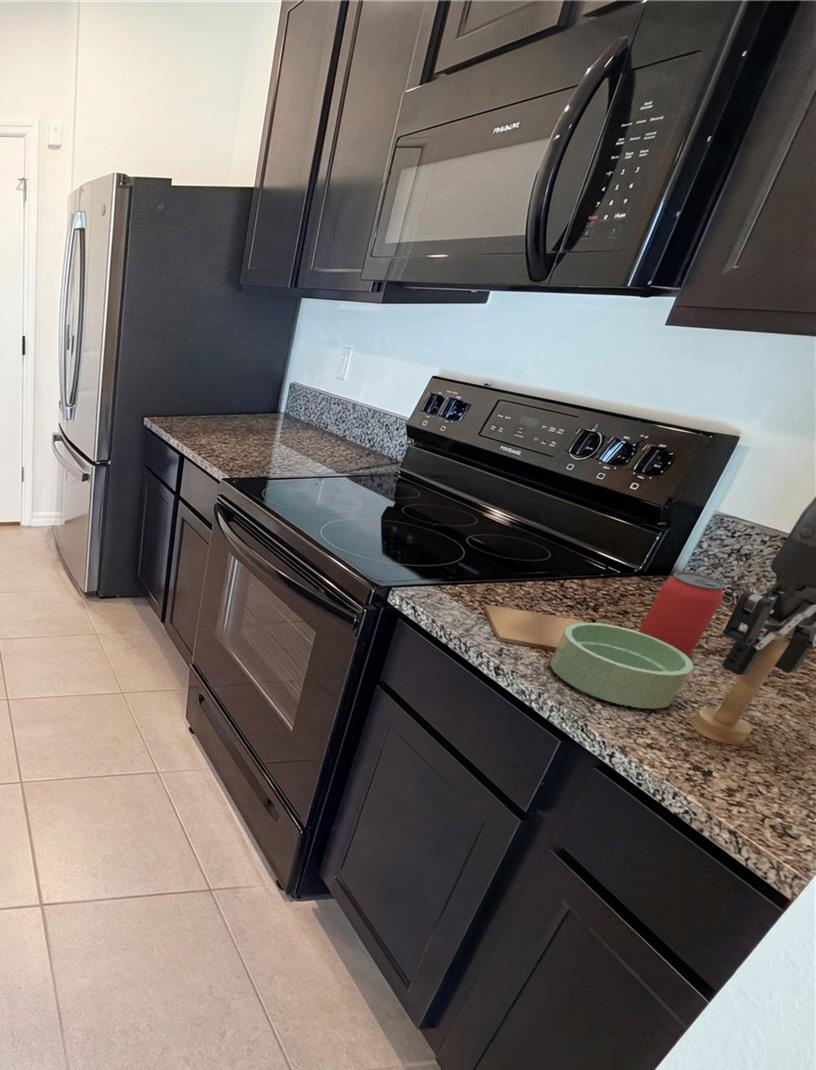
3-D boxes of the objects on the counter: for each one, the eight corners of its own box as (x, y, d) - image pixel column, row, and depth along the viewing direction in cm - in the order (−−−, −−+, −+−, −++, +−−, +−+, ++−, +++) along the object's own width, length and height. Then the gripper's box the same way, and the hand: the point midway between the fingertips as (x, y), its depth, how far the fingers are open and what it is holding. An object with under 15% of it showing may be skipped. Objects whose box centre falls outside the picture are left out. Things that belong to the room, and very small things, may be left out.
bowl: (647, 669, 96) (667, 634, 93) (690, 722, 84) (714, 684, 82) (537, 649, 100) (553, 615, 97) (564, 697, 89) (582, 660, 86)
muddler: (731, 726, 84) (793, 633, 77) (751, 749, 80) (818, 653, 73) (684, 717, 85) (740, 625, 79) (701, 739, 82) (762, 643, 75)
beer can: (681, 665, 97) (722, 593, 91) (626, 645, 102) (662, 576, 96) (695, 652, 100) (736, 582, 95) (641, 633, 105) (677, 566, 99)
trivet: (581, 625, 107) (583, 620, 107) (607, 661, 97) (609, 656, 97) (482, 608, 112) (484, 604, 112) (497, 641, 102) (499, 636, 102)
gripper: (827, 557, 66) (740, 691, 74) (943, 552, 68) (846, 684, 76) (745, 530, 73) (673, 656, 81) (853, 526, 75) (772, 650, 82)
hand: (757, 669), depth 78 cm, fingers open, 6 cm apart
